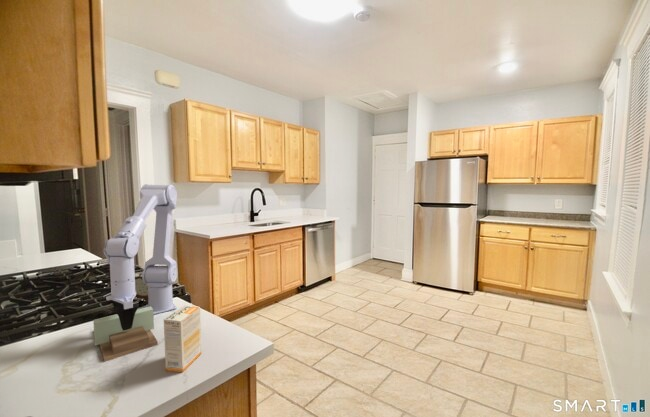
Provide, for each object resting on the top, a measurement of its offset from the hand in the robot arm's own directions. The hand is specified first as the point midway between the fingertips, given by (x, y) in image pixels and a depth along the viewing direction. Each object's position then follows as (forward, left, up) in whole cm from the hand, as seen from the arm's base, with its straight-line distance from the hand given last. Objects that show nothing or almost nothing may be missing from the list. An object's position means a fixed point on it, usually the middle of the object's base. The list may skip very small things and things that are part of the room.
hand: (125, 324), depth 86 cm
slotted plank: (0, 0, -4) cm, 4 cm away
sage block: (0, 0, -3) cm, 3 cm away
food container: (-28, +12, -4) cm, 31 cm away
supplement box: (+23, +9, -4) cm, 25 cm away
